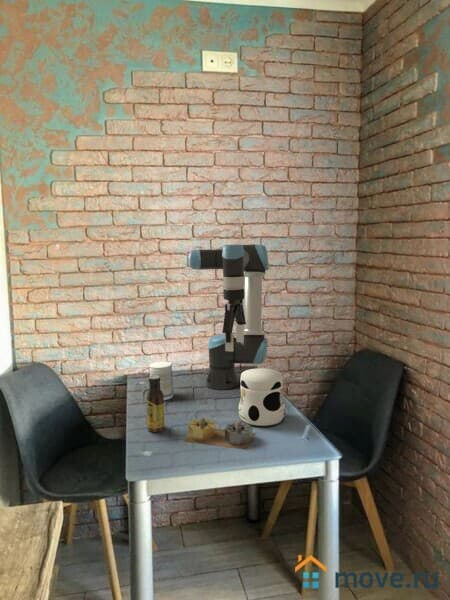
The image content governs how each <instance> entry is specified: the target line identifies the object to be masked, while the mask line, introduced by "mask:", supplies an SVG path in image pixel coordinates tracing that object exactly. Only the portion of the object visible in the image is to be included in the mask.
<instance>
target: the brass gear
mask: <svg viewBox="0 0 450 600" xmlns="http://www.w3.org/2000/svg"><path fill="white" fill-rule="evenodd" d="M187 429H188V436H189V437H190V438H191V439H192V440H198V441H205V440H209V439H213V437H214V436H215V435H216V429H217V428H216V422H215V421H213V420H212V419H211V418H210V419H209V418H205V426H203V427H201V426H199V418H198V419H195V420H191V421H190V423H188V428H187Z"/></svg>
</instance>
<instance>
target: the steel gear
mask: <svg viewBox="0 0 450 600" xmlns="http://www.w3.org/2000/svg"><path fill="white" fill-rule="evenodd" d="M241 427H242V431H236V426H235V422H234V423H230V424H227V425H226V427H224V430H225V441H226V442H227V443H228V444H230V445H236V446H242V445H246V444H250V442H251V441H252V442H253V440H254V438H253V436H252V433H253V426H251V425H248V424H246V423H245V422H241ZM252 439H253V440H252ZM252 442H251V443H252ZM250 445H251V444H250Z"/></svg>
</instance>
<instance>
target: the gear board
mask: <svg viewBox="0 0 450 600" xmlns="http://www.w3.org/2000/svg"><path fill="white" fill-rule="evenodd" d="M198 419H199V426H201V427H203V426H205V419H206V418H205V417H201V416H200V417H199V418H198ZM234 423H235V426H236V431H242V427H241V423H242V421H237V420H236V421H235V422H234ZM256 435H257V433H254V432H252V436H253V439H252V441H251V442H250V444H246V445H242V446H236V445H230V444H228V443H227V442H226V441H225V429H220V428H216V435H215V436H214V437H213V439H209V440H205V441H198V440H192V439H191V438H190V437H189V435H187V437H186V438H185V439H184V440H183V442H185V443H193V444H199V445H208V446H216V447H223V448H224V447H225V448H232V449H238V450H239V449H240V450H248V449H249V447H250V445H251V443H252V442H253V441H254V438H255V436H256Z"/></svg>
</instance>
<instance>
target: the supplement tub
mask: <svg viewBox="0 0 450 600" xmlns="http://www.w3.org/2000/svg"><path fill="white" fill-rule="evenodd" d="M153 375H158V376H160V389H161V391H162V392H163V395H164V401H168V400H170V399H172V398H173V397H174V376H173V366H172V362H170V361H154V362H151V363H150V364H149V377H150V376H153Z"/></svg>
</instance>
